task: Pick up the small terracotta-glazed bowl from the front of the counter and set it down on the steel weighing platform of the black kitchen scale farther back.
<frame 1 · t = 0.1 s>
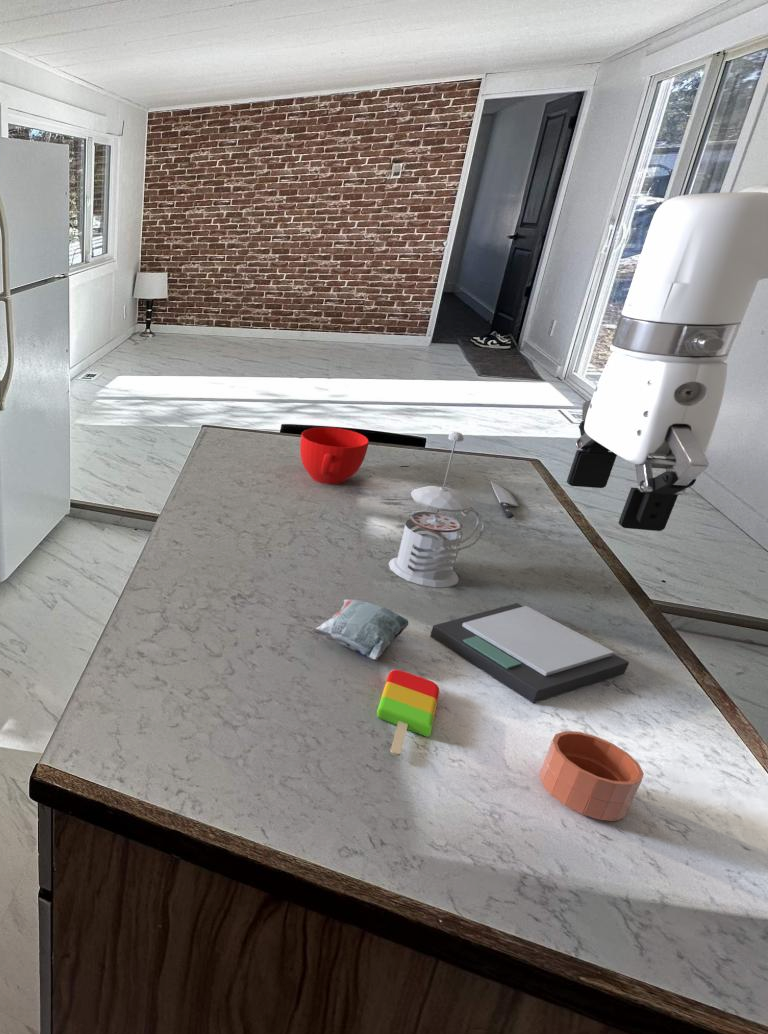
hand: (610, 505, 65), 30 cm above the counter, tool pointing down, fingers open, 9 cm apart
bowl: (580, 795, 68), on the counter
popsicle: (403, 721, 79), on the counter
packaged food: (356, 640, 93), on the counter
scale: (522, 654, 88), on the counter
ceramic cup: (326, 482, 142), on the counter
chef's knife: (506, 502, 129), on the counter
french press: (428, 572, 108), on the counter
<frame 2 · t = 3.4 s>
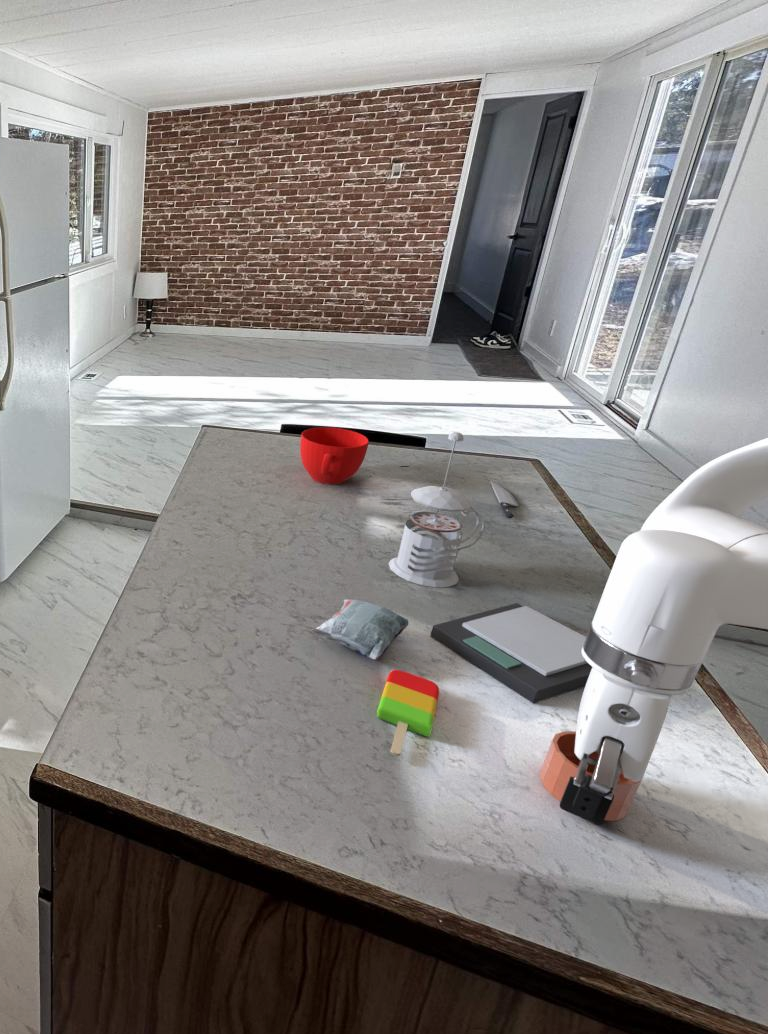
hand: (582, 789, 67), 1 cm above the counter, tool pointing down, fingers closed on bowl, 7 cm apart
bowl: (580, 795, 68), on the counter, touching gripper
everything else where it was.
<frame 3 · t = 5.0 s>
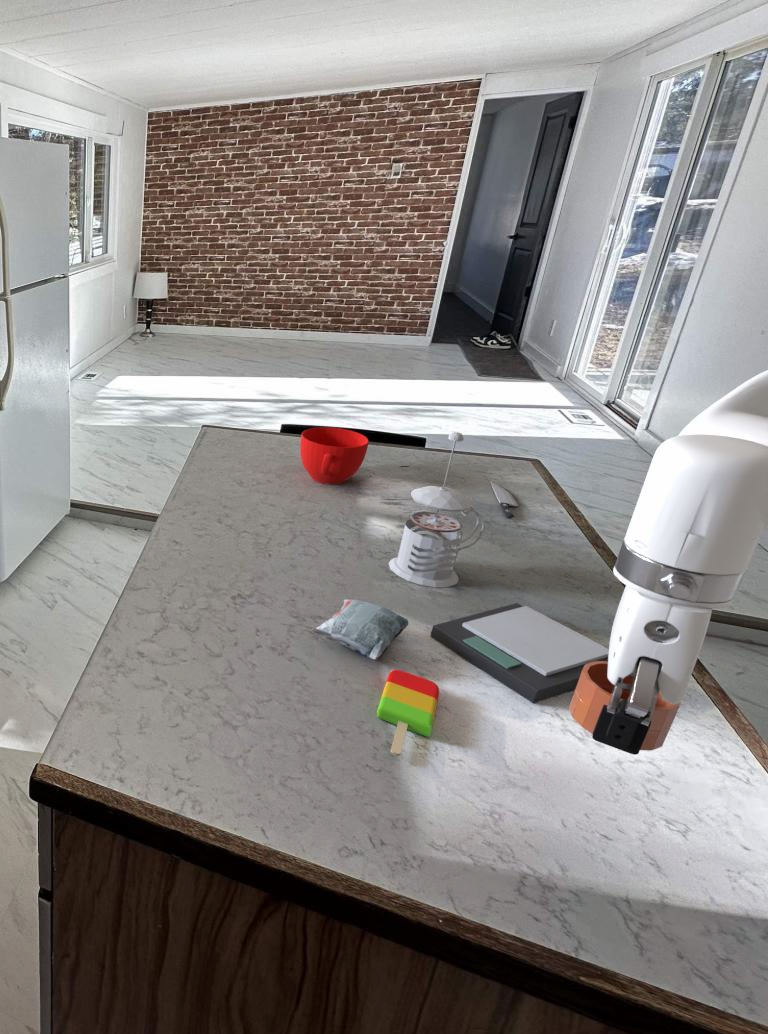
hand: (615, 721, 64), 10 cm above the counter, tool pointing down, fingers closed on bowl, 7 cm apart
bowl: (613, 727, 64), point 9 cm above the counter, touching gripper
everything else where it was.
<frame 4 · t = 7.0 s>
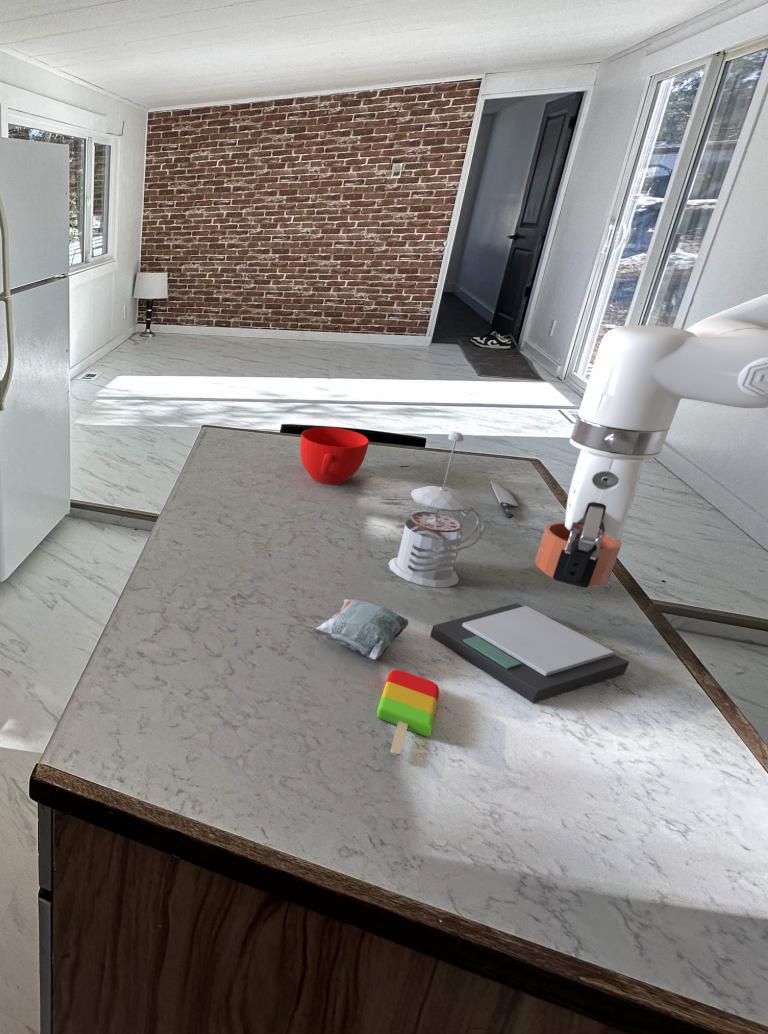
hand: (571, 568, 80), 16 cm above the counter, tool pointing down, fingers closed on bowl, 7 cm apart
bowl: (569, 573, 80), point 15 cm above the counter, touching gripper
everything else where it was.
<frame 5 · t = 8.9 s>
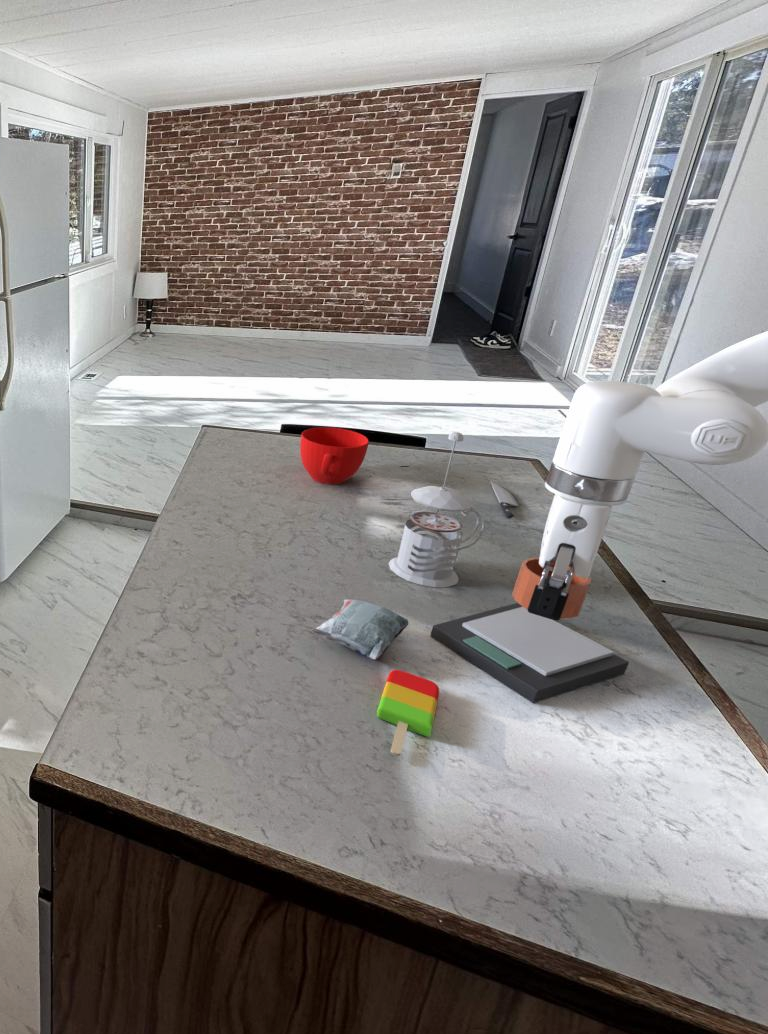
hand: (546, 601, 85), 8 cm above the counter, tool pointing down, fingers closed on bowl, 7 cm apart
bowl: (544, 606, 86), point 8 cm above the counter, touching gripper
everything else where it was.
when the fingers open (3 cm above the counter, at t = 10.6 s): bowl stays where it is, resting on scale.
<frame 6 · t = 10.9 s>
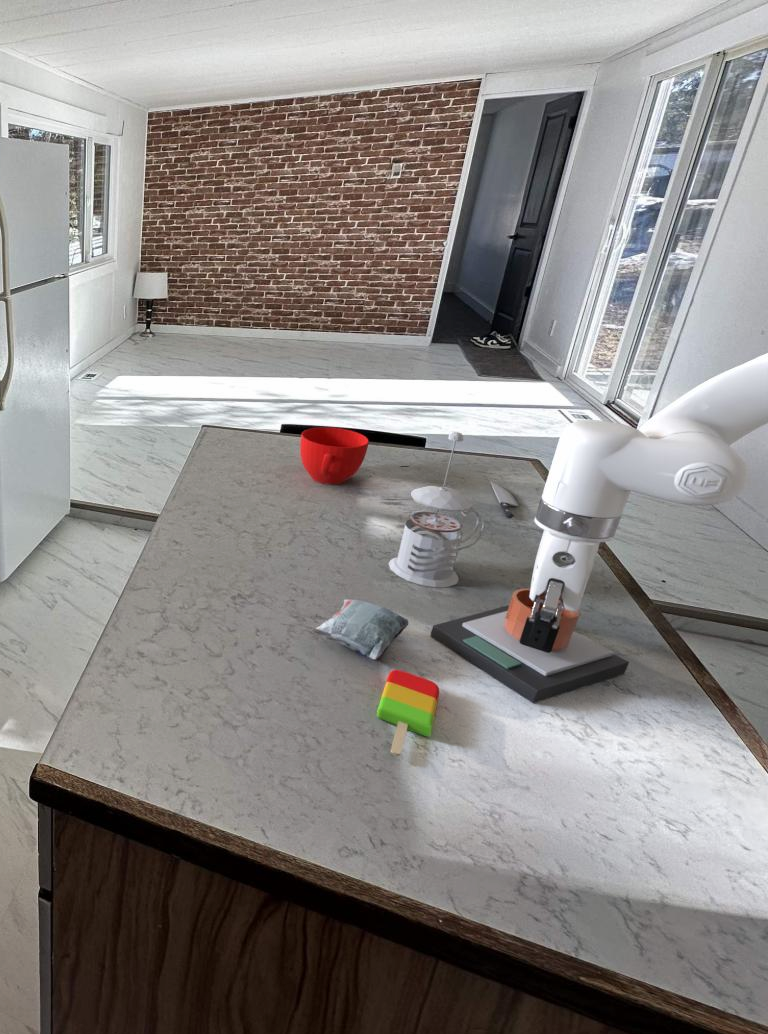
hand: (538, 630, 87), 4 cm above the counter, tool pointing down, fingers open, 9 cm apart
bowl: (534, 636, 87), point 3 cm above the counter, touching scale
everything else where it was.
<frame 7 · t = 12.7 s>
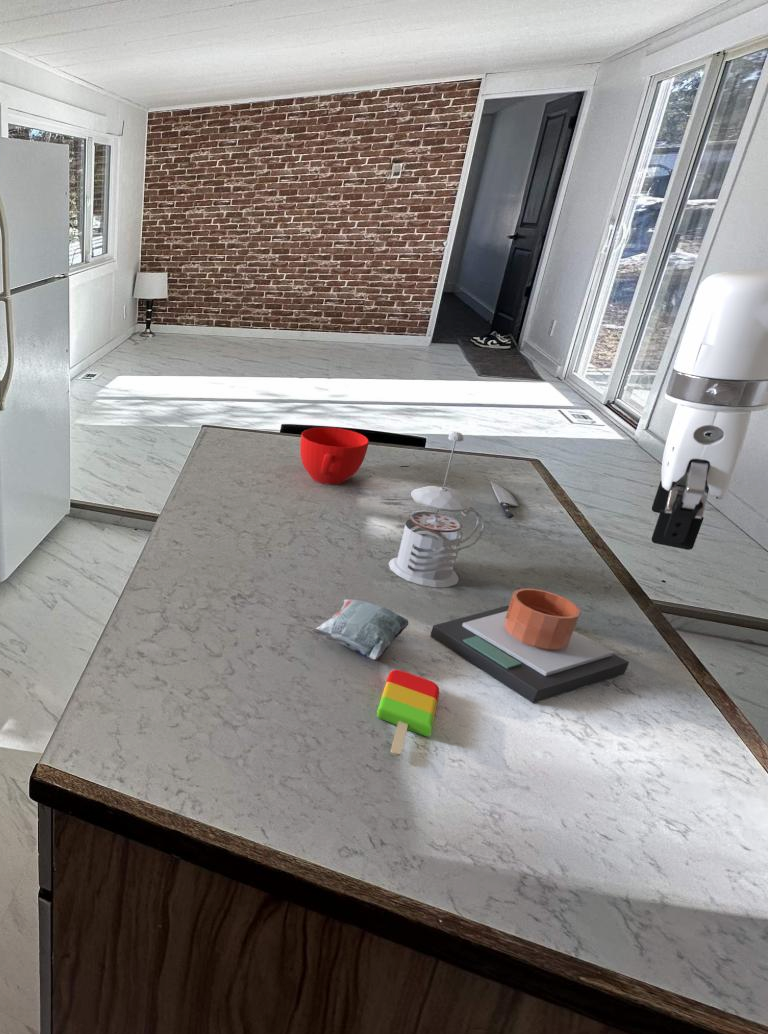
hand: (670, 529, 75), 22 cm above the counter, tool pointing down, fingers open, 9 cm apart
nothing on the counter moved.
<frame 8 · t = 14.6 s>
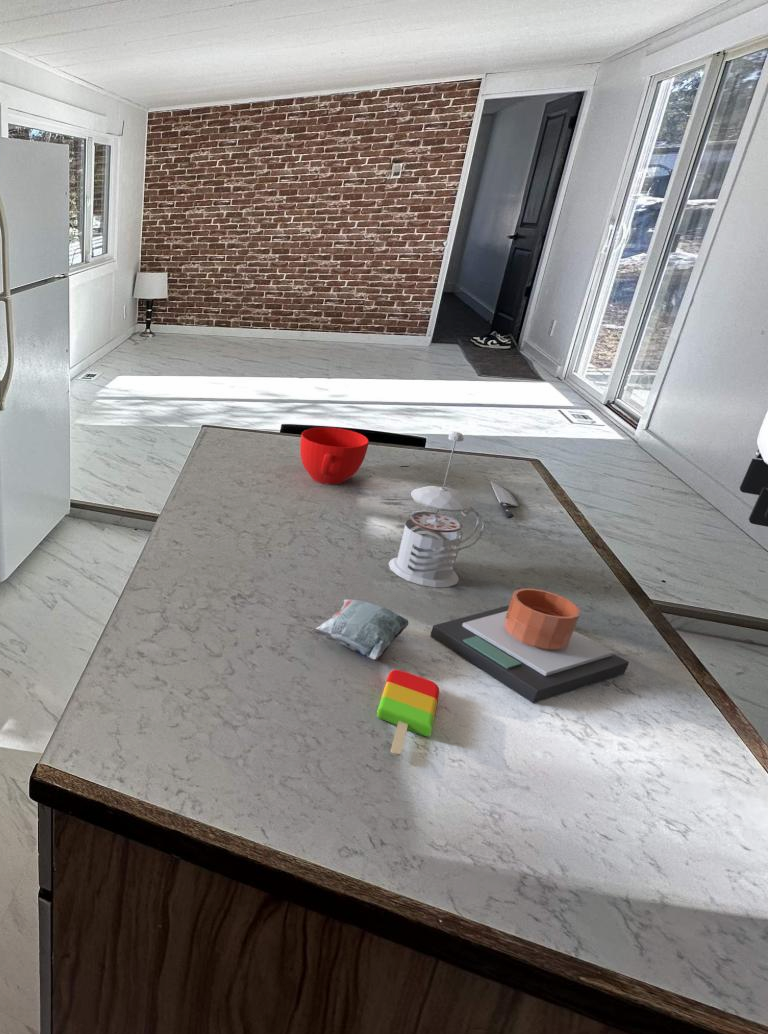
hand: (765, 509, 70), 26 cm above the counter, tool pointing down, fingers open, 9 cm apart
nothing on the counter moved.
at the end: bowl inside the target area on the scale (0.1 cm from its centre), point 2.6 cm above the scale's base; bowl tilted 0°; the gripper is holding nothing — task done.
